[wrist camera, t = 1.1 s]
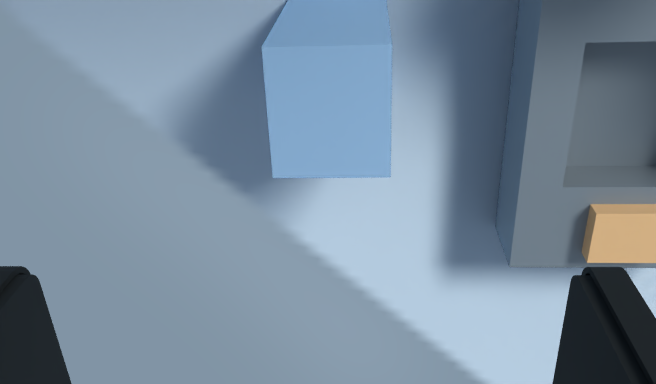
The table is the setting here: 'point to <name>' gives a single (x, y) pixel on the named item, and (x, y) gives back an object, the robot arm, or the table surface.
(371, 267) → the table surface
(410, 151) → the table surface
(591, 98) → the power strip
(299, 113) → the block
